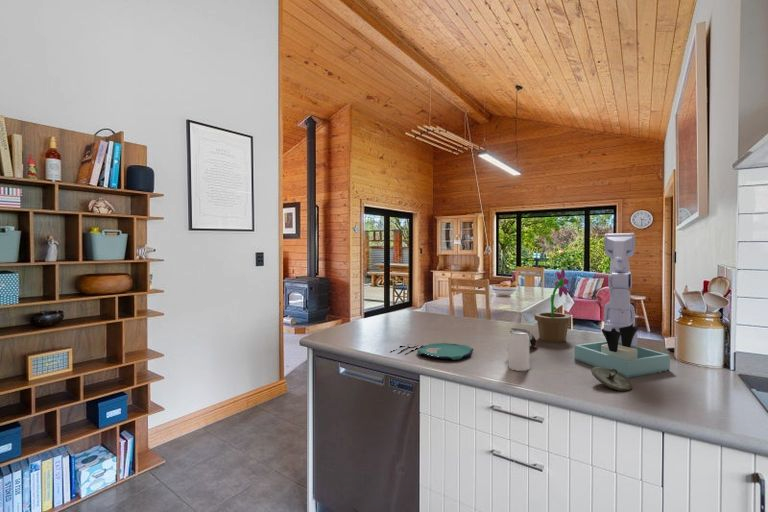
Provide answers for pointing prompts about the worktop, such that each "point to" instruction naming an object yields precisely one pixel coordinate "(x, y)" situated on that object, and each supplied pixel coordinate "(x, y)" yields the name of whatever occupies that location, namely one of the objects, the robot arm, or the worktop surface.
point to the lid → (611, 378)
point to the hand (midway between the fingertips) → (619, 349)
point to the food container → (526, 331)
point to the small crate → (621, 352)
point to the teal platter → (447, 350)
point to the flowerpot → (554, 316)
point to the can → (518, 350)
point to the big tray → (641, 366)
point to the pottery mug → (533, 341)
